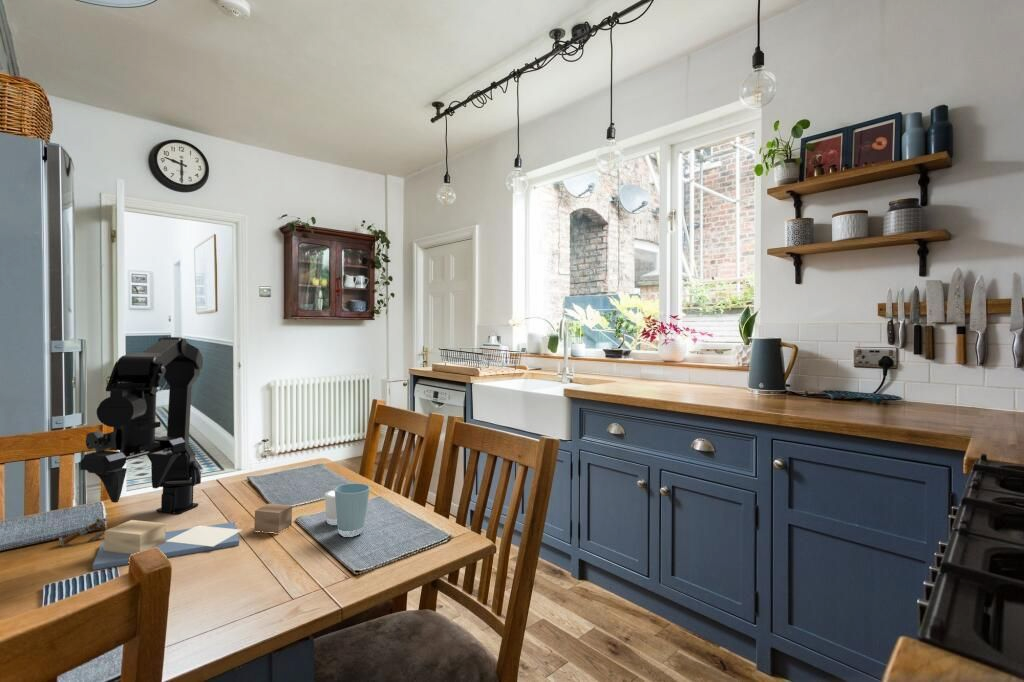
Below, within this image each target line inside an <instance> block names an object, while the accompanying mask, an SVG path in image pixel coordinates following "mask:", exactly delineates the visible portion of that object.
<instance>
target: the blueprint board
mask: <svg viewBox="0 0 1024 682" xmlns="http://www.w3.org/2000/svg"><path fill="white" fill-rule="evenodd" d="M240 532H243V529H237V526H236V521H230V522H223V523H218V524H211V525H197V526H196V525H195V526H194V527H190V528H184V529H177V530H169V531H165V543H163V544H161V545H159V546H157V548H159V549H160V550H161V551H162V552H163V553H164V554H165V555H166V556H167V558H172V557H178V556H184V555H191V554H195V553H202V552H208V551H213V550H219V549H224V548H231V547H236V546H240V538H239V534H238V533H240ZM130 555H131V554H127V553H118V552H110V551H104V540H103V541H102V542H101V544H100V545H99V549H98V551H97V554H96V557H95V558H94V561H93V564H92V571H97V570H103V569H107V568H108V567H109V568H113V567H119V566H120V567H121V566H125V565H129V564H128V562H129V557H130ZM171 556H172V557H171Z"/></svg>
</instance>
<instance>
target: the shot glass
mask: <svg viewBox="0 0 1024 682" xmlns="http://www.w3.org/2000/svg"><path fill="white" fill-rule="evenodd" d="M324 501H325V503H324V504H325V517H327V518H329V519H337V513H336V500H335V489H332V490H329V491H326V492H325V493H324Z"/></svg>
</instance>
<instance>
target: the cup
mask: <svg viewBox="0 0 1024 682" xmlns="http://www.w3.org/2000/svg"><path fill="white" fill-rule="evenodd" d="M370 487H371V486H370V485H368V484H365V483H361V482H359V483H358V482H353V483H352V482H351V483H344V484H339V485H338V486H336V487H334V490H335V500H336V513H337V526H336V527H337V530H338V529H339V530H342V531H353V530H357V529H360V528H362V527H363V526H364V527H365V525H364V524H365V522H366V518H367V517H366V516H367V511H368V503H369V496H370V489H371V488H370Z"/></svg>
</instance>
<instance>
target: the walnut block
mask: <svg viewBox="0 0 1024 682" xmlns="http://www.w3.org/2000/svg"><path fill="white" fill-rule="evenodd" d="M292 521H293V505H290V504H289V505H288V504H287V505H286V504H280V503H270V502H269V503H266V504H265V505H262V506H261V507H259V508H257V509H255V510H254V526H253V527H254V528H253V530H254V531H260V532H262V531H263V532H274V533H280V532H281V531H283V530H284V529H286V528H288V527H289V526H291V525H292ZM291 527H292V526H291ZM288 529H289V528H288ZM280 534H281V533H280Z"/></svg>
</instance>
